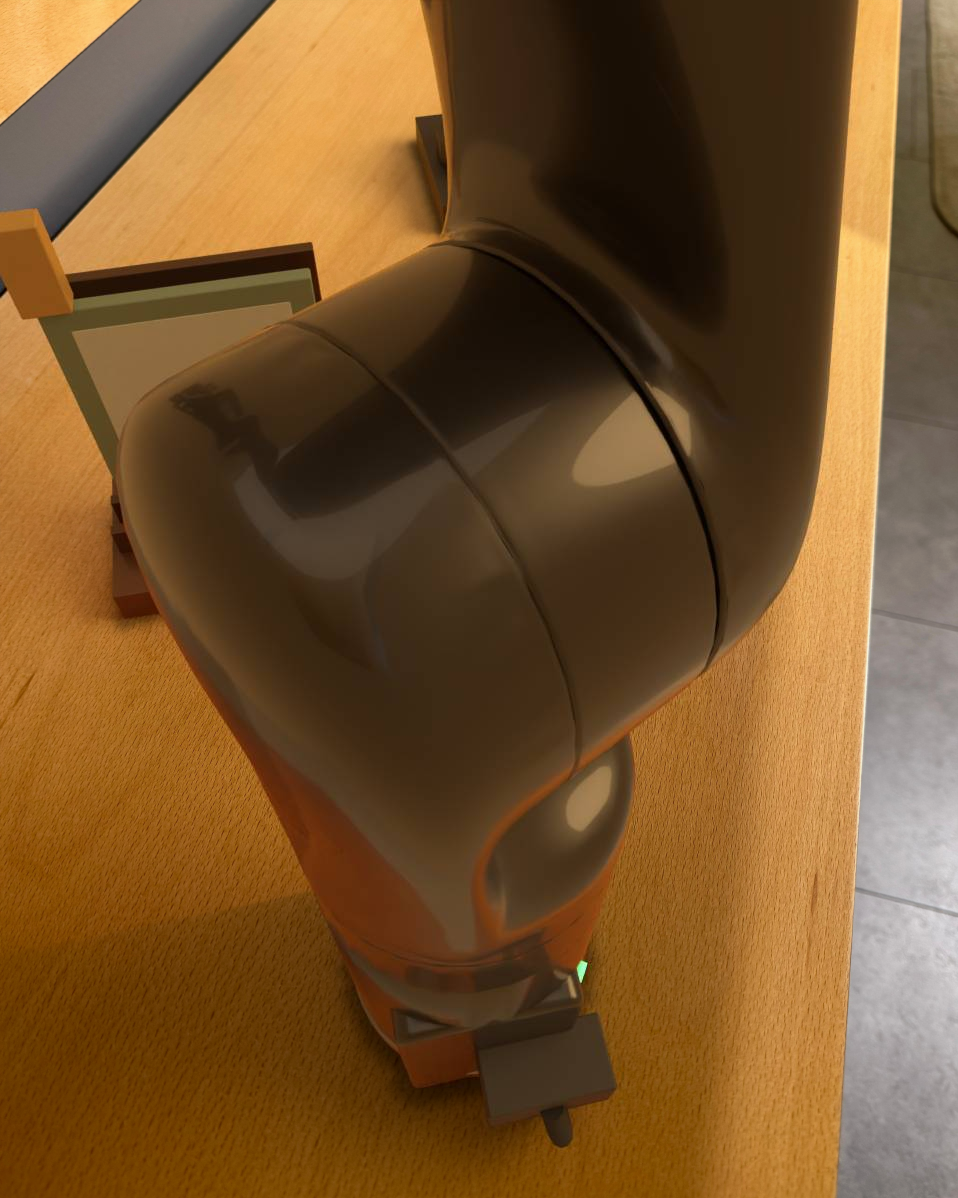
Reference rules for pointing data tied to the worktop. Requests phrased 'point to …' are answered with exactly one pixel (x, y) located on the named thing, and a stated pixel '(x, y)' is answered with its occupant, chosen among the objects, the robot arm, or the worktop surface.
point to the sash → (133, 324)
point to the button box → (434, 159)
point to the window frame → (126, 570)
